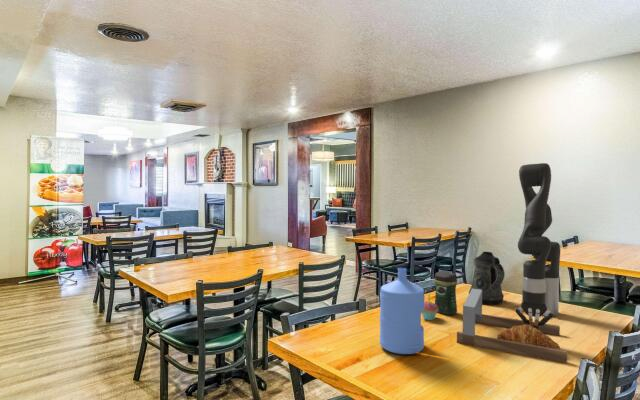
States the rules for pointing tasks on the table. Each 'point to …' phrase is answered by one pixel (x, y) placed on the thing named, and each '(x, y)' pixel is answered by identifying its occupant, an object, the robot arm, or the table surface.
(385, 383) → the table surface
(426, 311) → the cupcake
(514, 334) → the pastry
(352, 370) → the table surface
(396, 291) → the water jug
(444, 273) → the coffee jar
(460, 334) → the two-rail open rack
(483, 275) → the beer stein
